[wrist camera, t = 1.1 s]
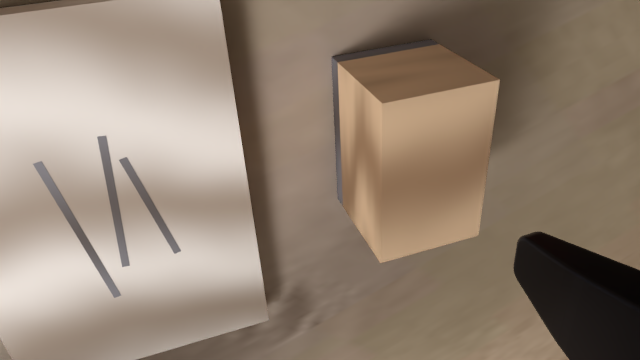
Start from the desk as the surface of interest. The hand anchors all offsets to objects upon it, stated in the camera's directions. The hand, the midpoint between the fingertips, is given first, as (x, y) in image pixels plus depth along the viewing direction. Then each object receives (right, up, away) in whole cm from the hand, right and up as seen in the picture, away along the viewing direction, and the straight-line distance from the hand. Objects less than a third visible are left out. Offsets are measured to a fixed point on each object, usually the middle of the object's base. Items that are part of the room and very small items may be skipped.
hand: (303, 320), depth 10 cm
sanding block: (+3, +5, +14) cm, 16 cm away
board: (-8, +2, +12) cm, 15 cm away
